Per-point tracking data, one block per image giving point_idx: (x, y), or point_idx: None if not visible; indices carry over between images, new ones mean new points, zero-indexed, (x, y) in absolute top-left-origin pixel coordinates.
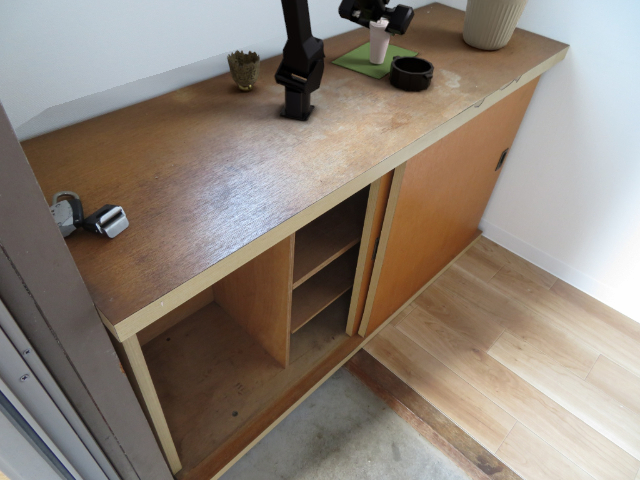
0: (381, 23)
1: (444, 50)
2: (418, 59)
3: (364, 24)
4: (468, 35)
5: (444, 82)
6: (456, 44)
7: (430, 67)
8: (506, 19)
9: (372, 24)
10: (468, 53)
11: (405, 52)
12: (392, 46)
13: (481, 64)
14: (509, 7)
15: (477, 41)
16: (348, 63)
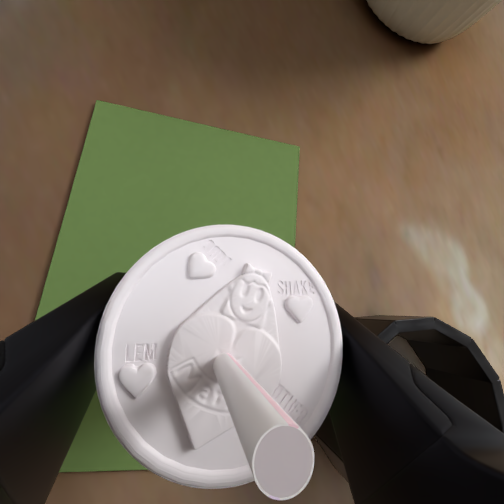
0: (234, 357)
1: (348, 85)
2: (415, 330)
3: (54, 466)
4: (405, 1)
5: (449, 311)
6: (355, 31)
7: (480, 372)
8: None
9: (154, 437)
10: (404, 78)
11: (262, 163)
12: (198, 134)
13: (457, 133)
14: None
15: (430, 27)
16: (92, 422)
